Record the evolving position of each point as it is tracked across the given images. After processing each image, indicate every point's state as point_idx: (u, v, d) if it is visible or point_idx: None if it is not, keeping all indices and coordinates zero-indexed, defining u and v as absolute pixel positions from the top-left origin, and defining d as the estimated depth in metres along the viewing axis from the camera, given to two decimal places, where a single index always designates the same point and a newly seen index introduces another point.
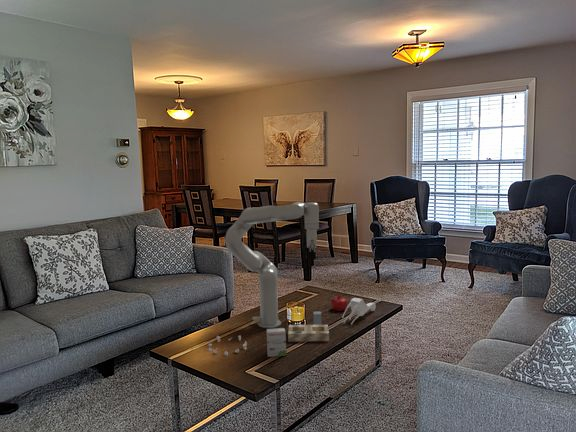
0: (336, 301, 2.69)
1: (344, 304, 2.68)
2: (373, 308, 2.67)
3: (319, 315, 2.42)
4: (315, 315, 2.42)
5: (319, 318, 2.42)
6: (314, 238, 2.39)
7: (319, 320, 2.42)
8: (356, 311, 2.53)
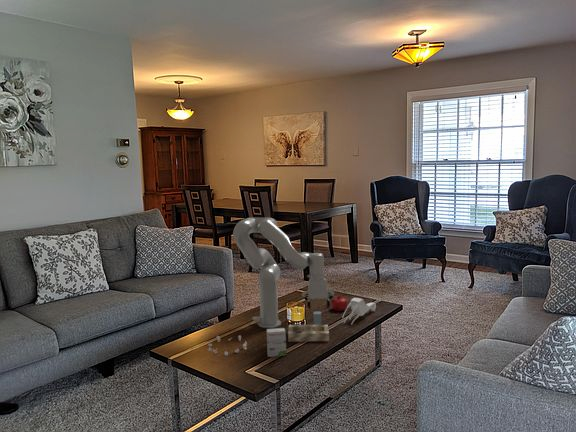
0: (336, 301, 2.69)
1: (344, 304, 2.68)
2: (373, 308, 2.67)
3: (319, 315, 2.42)
4: (315, 315, 2.42)
5: (319, 318, 2.42)
6: None
7: (319, 320, 2.42)
8: (356, 311, 2.54)
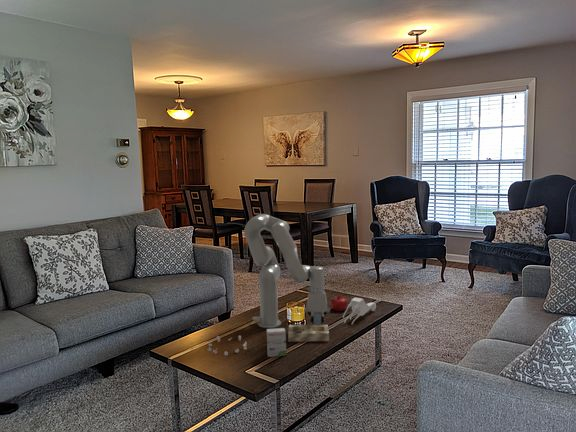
0: (336, 301, 2.69)
1: (344, 304, 2.68)
2: (373, 308, 2.67)
3: (319, 315, 2.42)
4: (315, 315, 2.42)
5: (319, 318, 2.42)
6: None
7: (319, 320, 2.42)
8: (357, 311, 2.54)
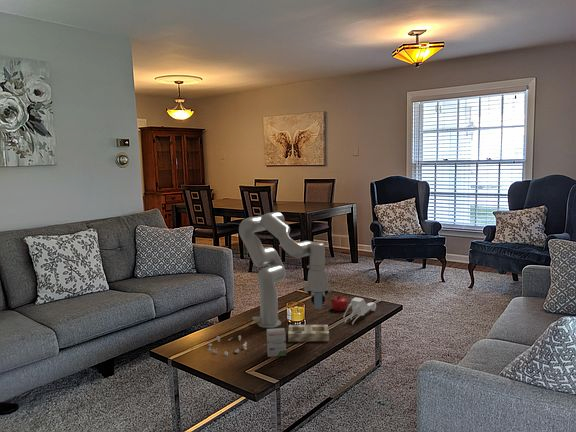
0: (336, 301, 2.69)
1: (344, 304, 2.68)
2: (374, 308, 2.67)
3: (320, 294, 2.27)
4: (315, 294, 2.27)
5: (320, 297, 2.27)
6: None
7: (320, 299, 2.27)
8: (357, 311, 2.54)
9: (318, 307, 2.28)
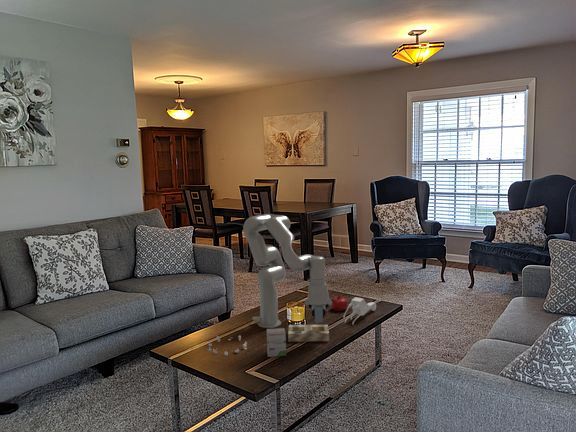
0: (336, 301, 2.69)
1: (344, 304, 2.68)
2: (374, 308, 2.67)
3: (320, 308, 2.28)
4: (316, 308, 2.28)
5: (320, 311, 2.28)
6: None
7: (320, 313, 2.28)
8: (357, 311, 2.54)
9: (319, 321, 2.28)
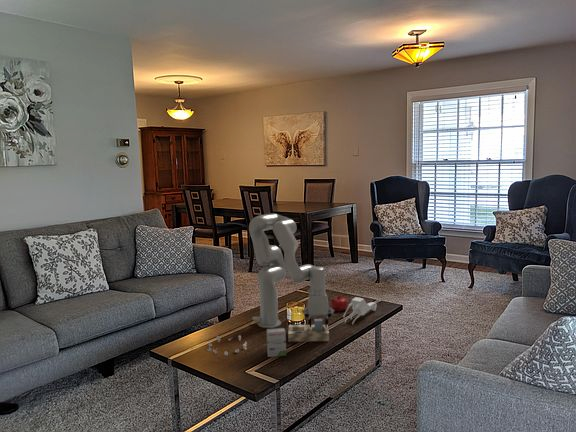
0: (336, 301, 2.69)
1: (344, 304, 2.68)
2: (374, 308, 2.68)
3: (320, 323, 2.29)
4: (316, 323, 2.29)
5: (320, 326, 2.29)
6: None
7: (320, 328, 2.29)
8: (357, 310, 2.54)
9: None
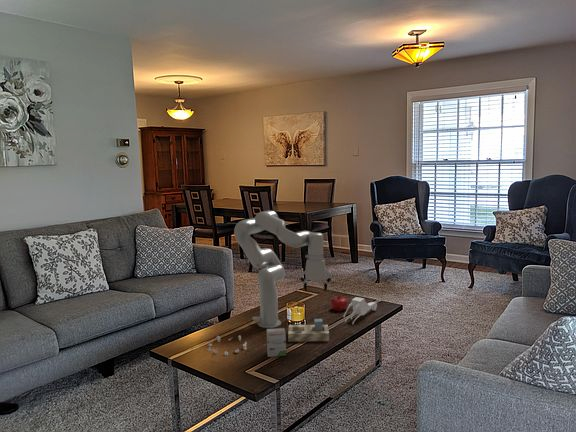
0: (336, 301, 2.69)
1: (344, 304, 2.68)
2: (374, 307, 2.68)
3: (320, 323, 2.29)
4: (316, 323, 2.29)
5: (320, 326, 2.29)
6: None
7: (320, 328, 2.29)
8: (357, 310, 2.54)
9: None
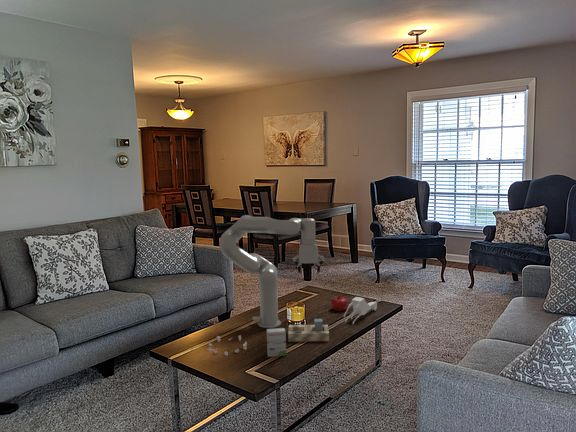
0: (336, 301, 2.69)
1: (344, 304, 2.68)
2: (375, 307, 2.68)
3: (320, 323, 2.29)
4: (316, 323, 2.29)
5: (320, 326, 2.29)
6: None
7: (320, 328, 2.29)
8: (358, 310, 2.55)
9: None
